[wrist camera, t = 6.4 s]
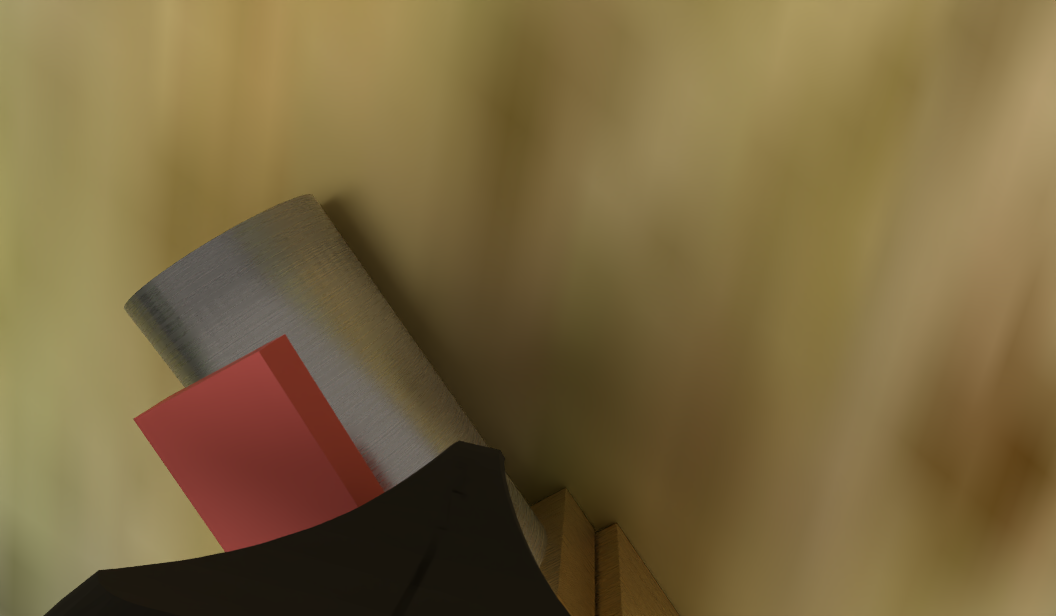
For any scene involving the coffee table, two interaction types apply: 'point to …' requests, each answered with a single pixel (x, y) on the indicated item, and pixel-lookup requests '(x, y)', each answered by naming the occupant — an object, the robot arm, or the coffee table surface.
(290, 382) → the lever
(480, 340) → the coffee table surface
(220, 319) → the valve pipe
